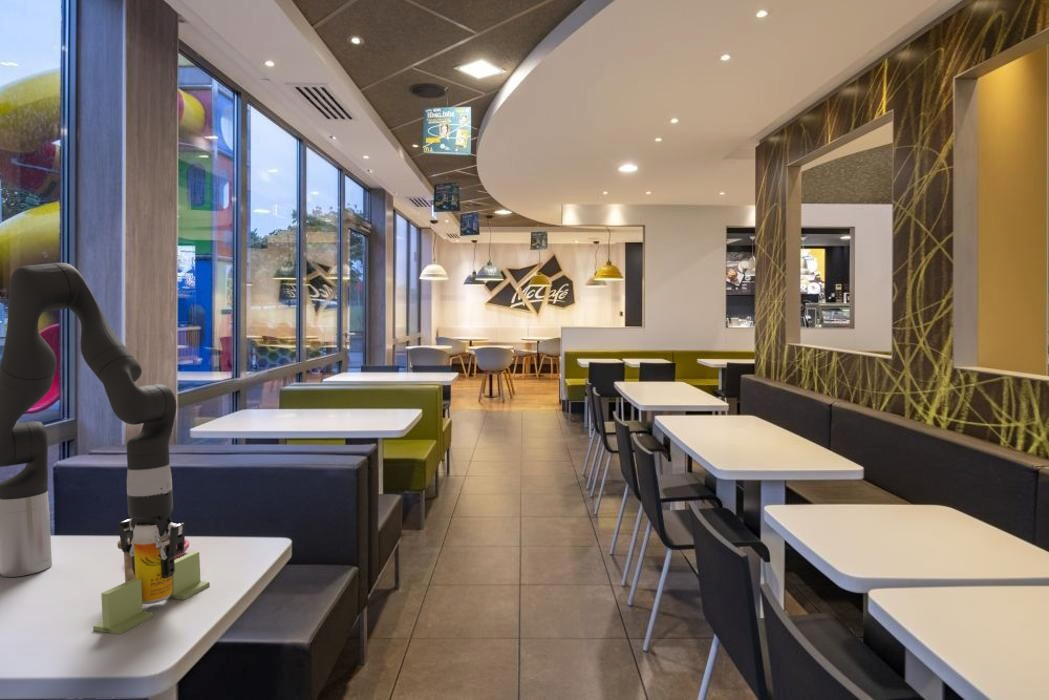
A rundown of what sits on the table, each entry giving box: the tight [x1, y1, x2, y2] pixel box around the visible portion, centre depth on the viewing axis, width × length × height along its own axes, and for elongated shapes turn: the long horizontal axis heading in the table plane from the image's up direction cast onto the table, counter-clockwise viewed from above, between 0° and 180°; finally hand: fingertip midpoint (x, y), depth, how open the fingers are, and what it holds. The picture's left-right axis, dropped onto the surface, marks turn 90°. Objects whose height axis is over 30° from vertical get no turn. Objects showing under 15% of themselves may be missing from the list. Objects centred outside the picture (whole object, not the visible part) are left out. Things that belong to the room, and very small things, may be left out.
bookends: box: [92, 550, 211, 635], centre depth 126 cm, size 6×22×7 cm, turn 164°
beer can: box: [133, 523, 172, 605], centre depth 126 cm, size 6×6×15 cm
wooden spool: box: [117, 538, 135, 583], centre depth 133 cm, size 8×8×11 cm
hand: (153, 575), depth 126 cm, fingers closed on beer can, 6 cm apart
